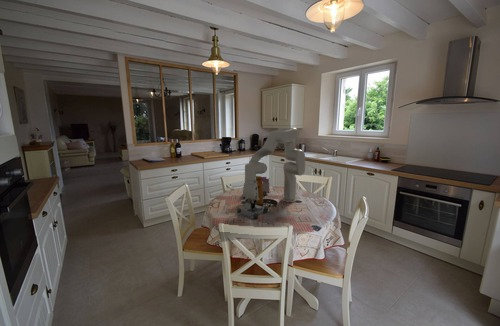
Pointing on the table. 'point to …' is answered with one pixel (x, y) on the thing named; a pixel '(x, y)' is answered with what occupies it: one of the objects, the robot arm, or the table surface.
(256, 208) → the chassis
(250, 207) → the engine block
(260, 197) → the coffee package
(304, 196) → the table surface
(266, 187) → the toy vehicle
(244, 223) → the table surface
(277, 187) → the table surface
